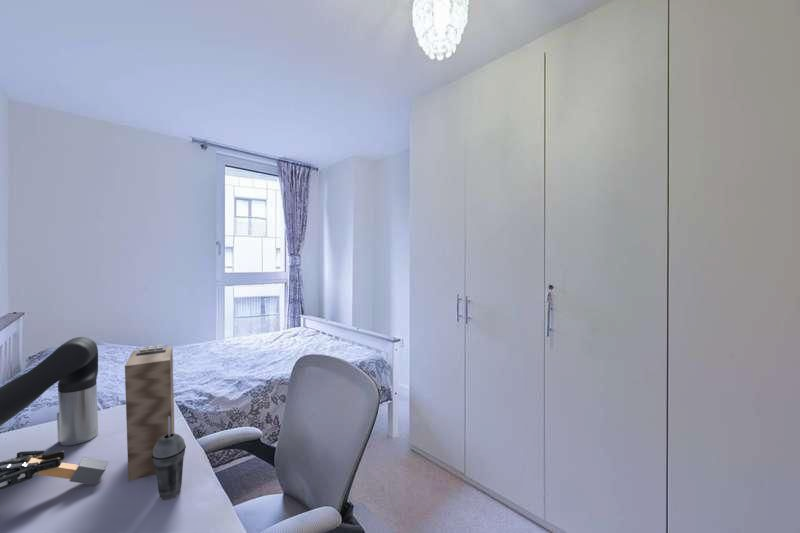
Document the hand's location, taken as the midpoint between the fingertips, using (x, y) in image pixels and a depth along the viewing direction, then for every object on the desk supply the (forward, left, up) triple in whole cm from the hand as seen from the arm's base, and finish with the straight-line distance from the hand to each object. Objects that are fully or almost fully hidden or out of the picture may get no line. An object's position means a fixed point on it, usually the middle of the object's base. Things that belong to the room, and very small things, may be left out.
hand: (61, 458), depth 89 cm
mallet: (0, 0, -5) cm, 5 cm away
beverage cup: (+29, +3, -9) cm, 30 cm away
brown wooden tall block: (+13, +15, -8) cm, 21 cm away
